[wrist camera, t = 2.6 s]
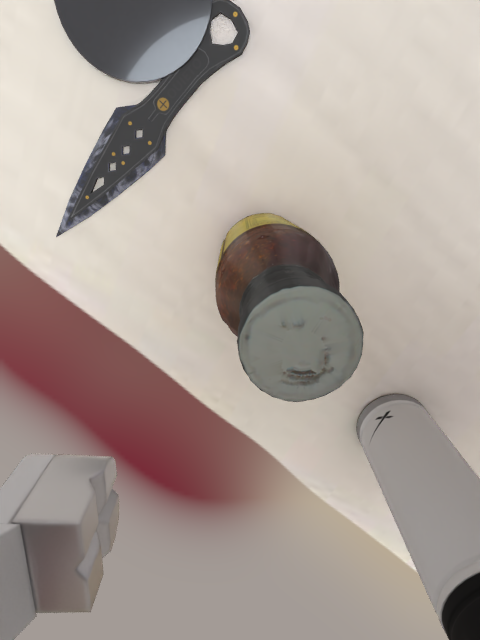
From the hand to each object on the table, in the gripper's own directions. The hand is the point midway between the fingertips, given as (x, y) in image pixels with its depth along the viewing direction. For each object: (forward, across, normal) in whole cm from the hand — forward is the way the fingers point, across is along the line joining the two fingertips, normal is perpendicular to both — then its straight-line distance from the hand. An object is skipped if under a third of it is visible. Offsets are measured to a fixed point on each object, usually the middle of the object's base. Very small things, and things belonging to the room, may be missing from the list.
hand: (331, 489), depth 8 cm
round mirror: (+26, -9, +16) cm, 31 cm away
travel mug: (+26, +12, -15) cm, 32 cm away
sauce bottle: (+26, 0, 0) cm, 26 cm away
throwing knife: (+26, -9, +8) cm, 29 cm away
